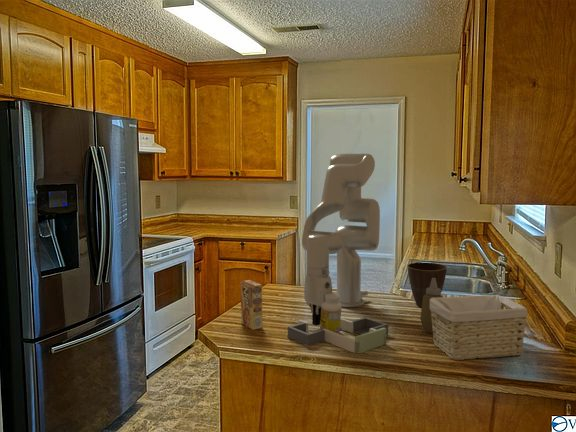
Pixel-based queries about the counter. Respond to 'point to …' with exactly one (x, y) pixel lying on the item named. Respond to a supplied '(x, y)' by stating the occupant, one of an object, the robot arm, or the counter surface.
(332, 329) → the supplement bottle
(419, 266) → the plant pot
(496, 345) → the storage basket
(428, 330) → the squeeze bottle
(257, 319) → the candy box
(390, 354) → the counter surface
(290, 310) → the counter surface
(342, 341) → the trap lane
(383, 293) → the counter surface
